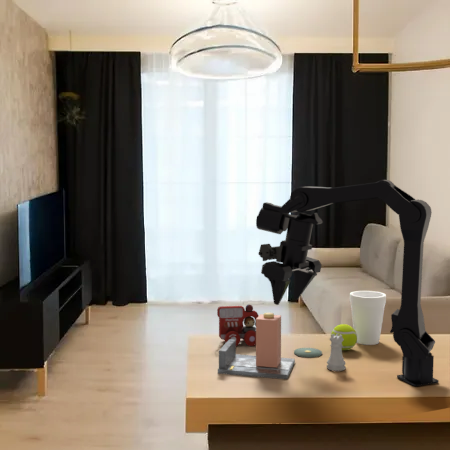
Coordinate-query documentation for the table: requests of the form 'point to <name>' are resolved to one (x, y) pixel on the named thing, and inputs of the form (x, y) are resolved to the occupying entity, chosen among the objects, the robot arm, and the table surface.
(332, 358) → the rook chess piece
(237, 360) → the rail
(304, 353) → the round pad
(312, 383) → the table surface
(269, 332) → the block
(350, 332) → the tennis ball
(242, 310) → the toy fire truck
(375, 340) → the foam cup
